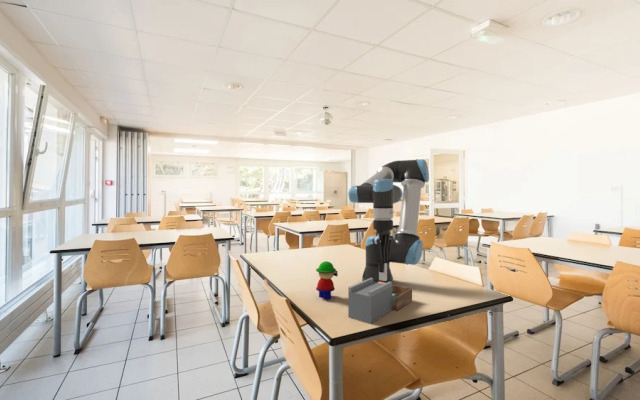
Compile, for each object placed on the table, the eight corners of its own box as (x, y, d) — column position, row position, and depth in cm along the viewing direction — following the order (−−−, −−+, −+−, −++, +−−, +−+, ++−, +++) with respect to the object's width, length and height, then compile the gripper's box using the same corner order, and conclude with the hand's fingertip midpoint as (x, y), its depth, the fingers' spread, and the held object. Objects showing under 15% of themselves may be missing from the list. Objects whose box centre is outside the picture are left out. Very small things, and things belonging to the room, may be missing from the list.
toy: (312, 295, 130) (312, 260, 130) (329, 292, 134) (329, 258, 133) (321, 301, 122) (321, 264, 122) (339, 298, 125) (340, 262, 125)
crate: (366, 303, 120) (366, 290, 120) (382, 294, 131) (382, 282, 131) (397, 311, 112) (397, 297, 112) (412, 300, 123) (412, 288, 123)
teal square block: (384, 291, 124) (384, 298, 124) (378, 294, 120) (378, 302, 120) (396, 294, 120) (396, 301, 121) (390, 297, 117) (390, 305, 117)
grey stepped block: (348, 317, 106) (348, 287, 106) (370, 304, 119) (370, 277, 119) (371, 323, 101) (371, 292, 101) (392, 309, 113) (392, 281, 113)
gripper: (384, 220, 109) (384, 285, 110) (399, 218, 119) (399, 278, 120) (366, 219, 114) (365, 282, 114) (382, 217, 124) (382, 275, 124)
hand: (383, 280), depth 117 cm, fingers closed
